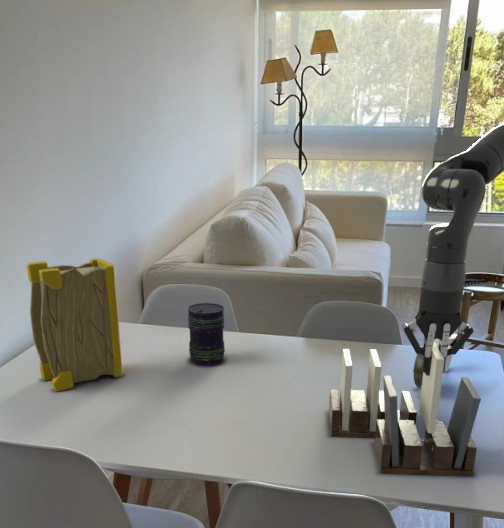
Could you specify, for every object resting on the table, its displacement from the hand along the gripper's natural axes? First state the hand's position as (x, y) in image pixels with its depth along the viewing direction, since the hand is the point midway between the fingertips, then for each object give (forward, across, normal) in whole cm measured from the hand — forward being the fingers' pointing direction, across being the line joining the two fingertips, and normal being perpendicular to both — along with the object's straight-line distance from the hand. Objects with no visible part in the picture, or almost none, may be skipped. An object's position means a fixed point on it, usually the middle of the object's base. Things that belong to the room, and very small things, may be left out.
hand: (432, 373), depth 136 cm
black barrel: (+19, +51, -56) cm, 78 cm away
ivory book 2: (+18, +9, -16) cm, 26 cm away
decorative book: (+18, +82, -40) cm, 93 cm away
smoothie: (+19, -13, -53) cm, 58 cm away
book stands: (+19, +5, -8) cm, 21 cm away
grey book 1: (+18, +6, 0) cm, 19 cm away
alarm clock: (+19, -6, -37) cm, 42 cm away
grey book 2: (+18, -6, 0) cm, 18 cm away
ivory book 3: (+10, 0, 0) cm, 10 cm away
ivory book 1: (+18, +15, -16) cm, 28 cm away
